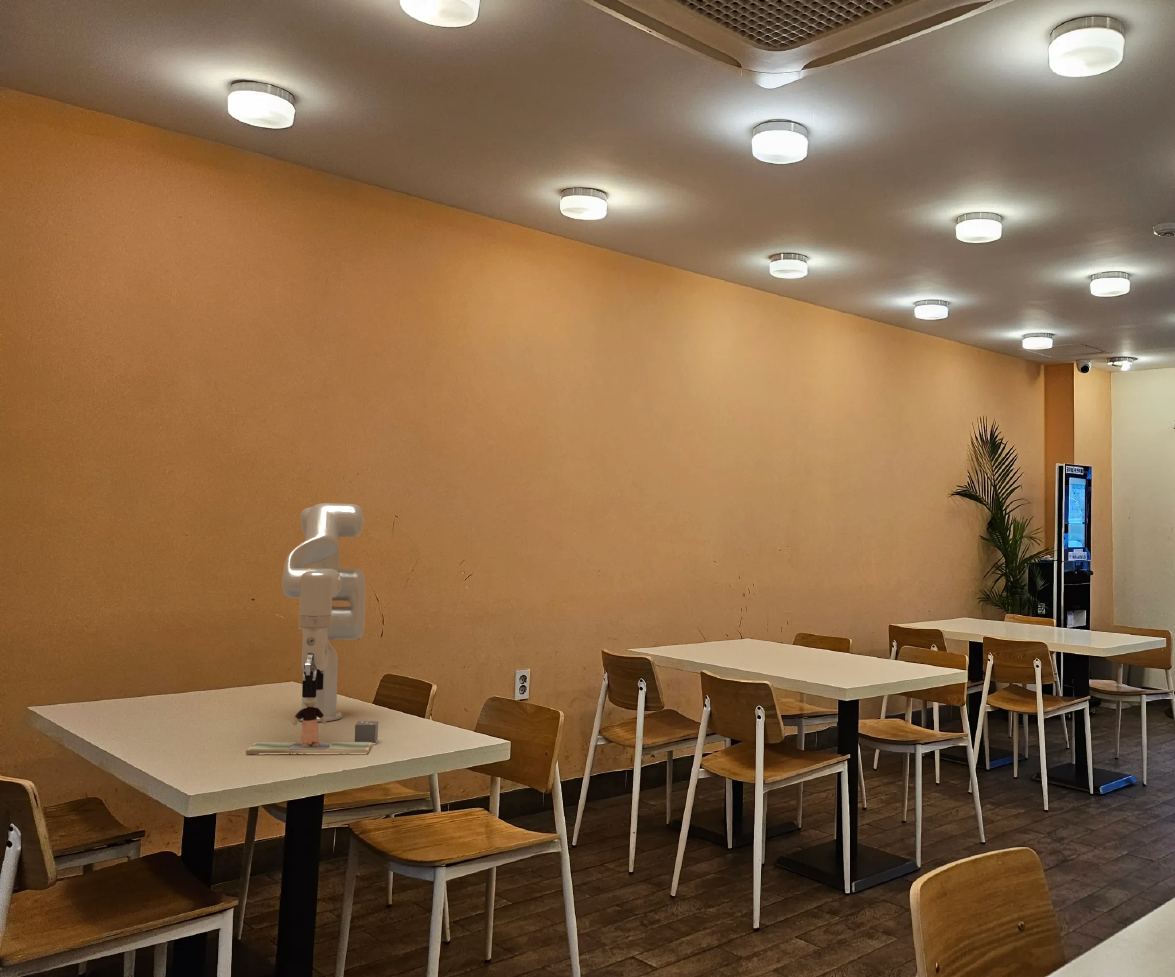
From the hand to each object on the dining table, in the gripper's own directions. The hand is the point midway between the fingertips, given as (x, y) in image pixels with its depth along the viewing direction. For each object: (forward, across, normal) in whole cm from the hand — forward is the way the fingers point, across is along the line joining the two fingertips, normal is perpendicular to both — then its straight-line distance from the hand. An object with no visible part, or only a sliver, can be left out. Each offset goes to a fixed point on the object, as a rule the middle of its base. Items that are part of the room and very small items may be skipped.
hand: (312, 693), depth 231 cm
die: (+14, +8, -12) cm, 20 cm away
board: (+13, -1, 0) cm, 13 cm away
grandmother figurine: (+12, -2, 0) cm, 13 cm away
